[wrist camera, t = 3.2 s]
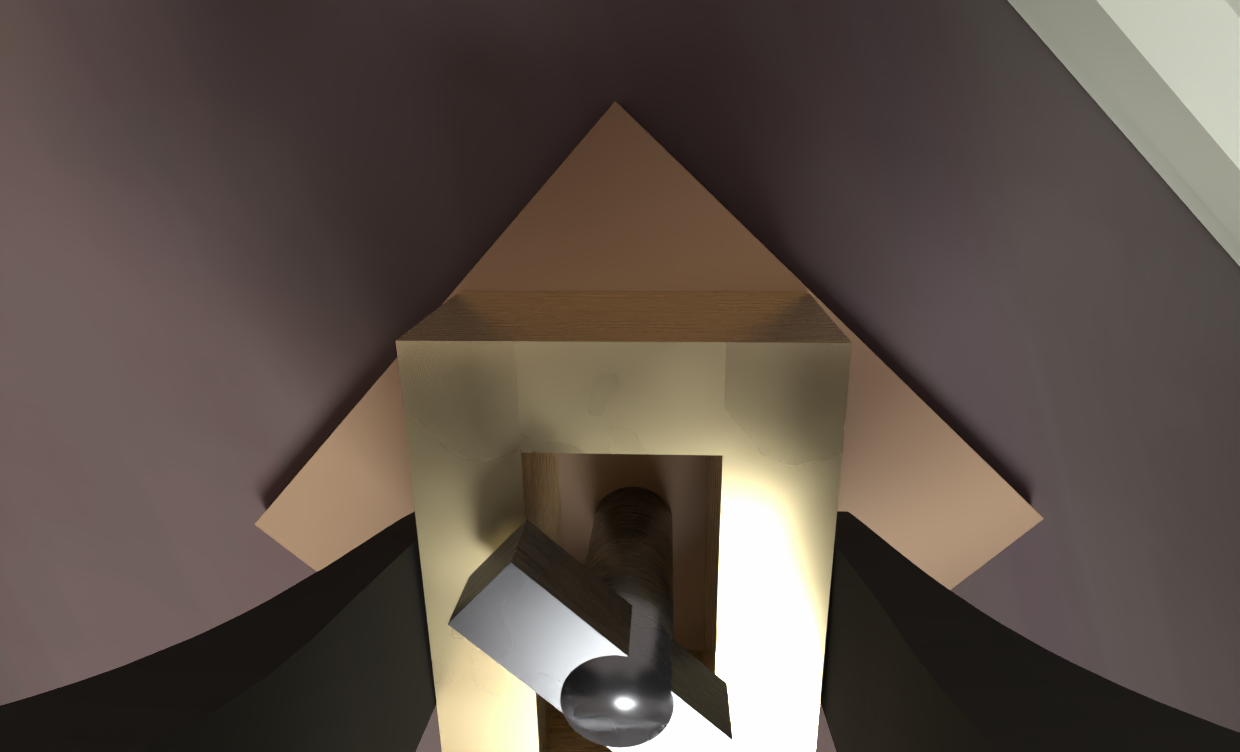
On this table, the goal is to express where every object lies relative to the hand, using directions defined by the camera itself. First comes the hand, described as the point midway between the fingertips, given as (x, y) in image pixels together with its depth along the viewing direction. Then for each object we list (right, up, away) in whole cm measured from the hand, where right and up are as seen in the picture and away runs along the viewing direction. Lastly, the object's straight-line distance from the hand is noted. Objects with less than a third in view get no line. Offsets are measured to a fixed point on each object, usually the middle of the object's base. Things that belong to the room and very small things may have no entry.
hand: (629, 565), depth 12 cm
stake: (0, +1, +2) cm, 2 cm away
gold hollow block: (0, 0, +1) cm, 1 cm away
